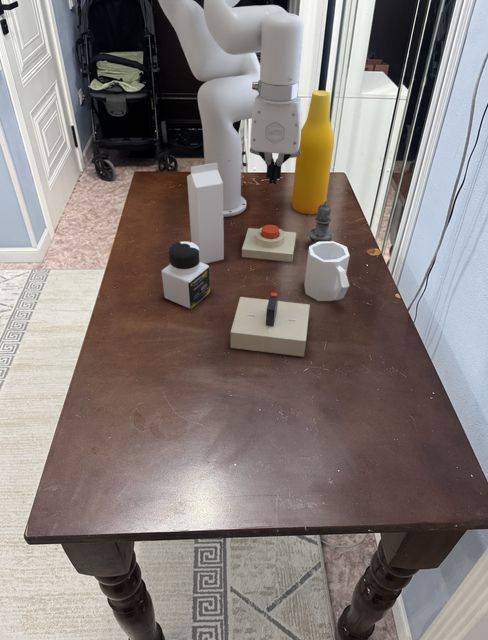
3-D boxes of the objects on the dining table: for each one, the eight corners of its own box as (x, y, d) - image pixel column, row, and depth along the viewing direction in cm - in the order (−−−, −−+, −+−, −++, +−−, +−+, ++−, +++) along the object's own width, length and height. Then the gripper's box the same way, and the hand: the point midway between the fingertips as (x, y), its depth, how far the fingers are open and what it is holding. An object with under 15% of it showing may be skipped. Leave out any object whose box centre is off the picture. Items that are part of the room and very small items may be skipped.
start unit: (241, 257, 117) (241, 242, 114) (248, 235, 124) (248, 221, 121) (292, 262, 116) (293, 247, 113) (295, 240, 123) (297, 225, 120)
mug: (297, 284, 109) (301, 245, 103) (330, 275, 112) (336, 237, 105) (324, 315, 102) (330, 276, 95) (359, 306, 104) (368, 266, 97)
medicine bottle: (190, 310, 102) (187, 260, 94) (163, 298, 105) (158, 249, 96) (210, 292, 106) (208, 244, 98) (184, 282, 109) (180, 233, 101)
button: (260, 238, 116) (261, 232, 115) (262, 230, 119) (263, 223, 118) (277, 240, 116) (278, 233, 115) (279, 231, 119) (279, 225, 118)
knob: (273, 326, 93) (274, 308, 90) (265, 325, 93) (266, 307, 90) (277, 310, 96) (278, 292, 93) (269, 309, 96) (270, 291, 93)
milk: (224, 259, 116) (223, 168, 101) (199, 265, 114) (195, 172, 99) (214, 246, 120) (213, 157, 105) (191, 251, 118) (185, 161, 103)
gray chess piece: (330, 254, 118) (337, 208, 110) (306, 251, 119) (311, 205, 111) (332, 242, 123) (339, 196, 114) (308, 239, 123) (314, 194, 115)
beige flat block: (230, 347, 94) (230, 331, 91) (240, 312, 102) (240, 295, 99) (303, 356, 93) (306, 340, 90) (307, 319, 101) (309, 303, 98)
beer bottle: (324, 200, 139) (340, 88, 119) (325, 216, 132) (342, 100, 112) (291, 198, 139) (301, 86, 119) (291, 214, 133) (301, 98, 113)
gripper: (237, 93, 94) (236, 185, 106) (316, 99, 92) (306, 191, 105) (243, 82, 99) (242, 171, 112) (318, 87, 98) (308, 177, 110)
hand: (273, 181), depth 108 cm, fingers closed
